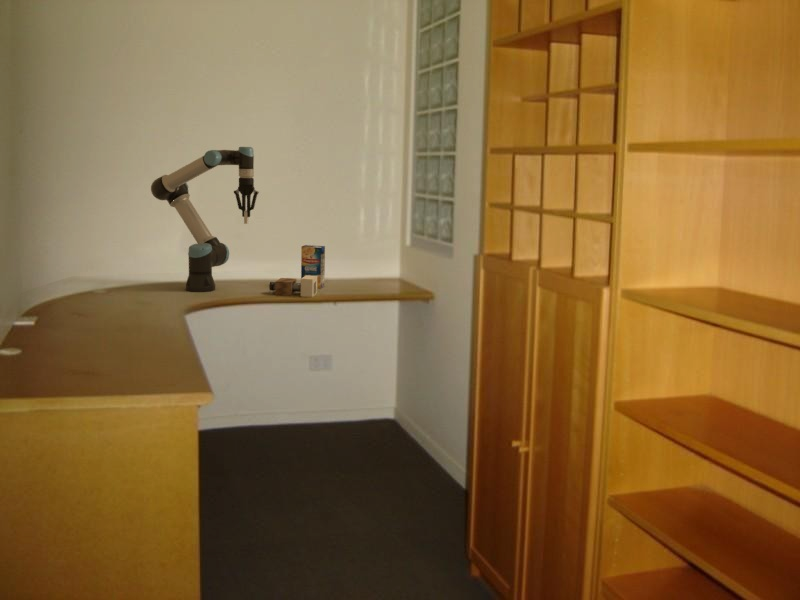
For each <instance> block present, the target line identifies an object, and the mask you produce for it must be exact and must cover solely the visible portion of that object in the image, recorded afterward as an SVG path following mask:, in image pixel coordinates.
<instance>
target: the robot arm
mask: <svg viewBox="0 0 800 600" xmlns="http://www.w3.org/2000/svg"><path fill="white" fill-rule="evenodd" d="M254 157H255V154H254V148H253V147H251V146H239V147H238V149H234V150H233V149H232V150H231V149H219V150H218V149H211V150H208V151H206V152H205V153H204V155H202V156H201V157H199V158H197V159H195V160H193V161H192V162H190V163H188V164H186V165H184V166H182V167H181V168H179V169H177V170H175V171H174V172H173V171H172V172H171V173H169V174H164V175H161V176H159V177H158V178H156V179H154V180H153V181H152V183H151V186H150V191H151V194H152V195H153V197H154V198H156V199H157V200H159V201H167V203H168V205H170V207H172V208H175V210H176V212H177V213H178V215H179V217H180V219H182V221H183V223H184V224H185V226H186V228H187V229H188V230H189V232H190V234H191V235H192V237H193V238H194V240H195V241H196V243H193V244H191V245H190V246H189V247H188V251H187V252H188V253H187V254H188V276H187V280H186V283H185V290H186V291H188V292H196V293H197V292H199V293H201V292H204V293H205V292H212V291H215V290H216V284H215V279H214V276H213V268H214V267H220V266H223V265H225V264H226V263H227V262H228V260H229V258H230V250H229V248H228V246H227V244H225V243H223V242H221V241H220V240H219V239H218V237H217V236H214V235H212V233H211V231H210V229H208V227H207V226H206V224H205V222H204V220H203V219H202V218H201V215H200V214H199V212H197V210H196V208H195V207H194V204H192V201H191V200H190V195H191V194H190V193H189V189H188V188H189V185H188V182H189V181H193V180H194V179H195V178H197V177H199V176H200V175H202V174H204V173H206V172H208V171H210V170H212V169H214V168H216V167H218V166H238V177H239V178H238V186H237V189H236V190H233V194H234V195H235V198H236V199H235V200H236V203H237V207H238V210H241V212H242V213H241V214H242V215H241V216H242V217H243V224H245V225H246V224H249V218H250V217H251V211H252V210H254V208H255V206H256V201H257V197H258V195H259V193H260V191H258V190H256V189H255V184H254V182H255V180H254V177H255V175H254V173H255V171H254V170H255V169H254V167H255V166H254V163H255V162H254V161H255V158H254ZM240 194H241V197H240ZM252 194H253V196H252ZM251 197H252V200H251ZM173 200H174V201H173Z"/></svg>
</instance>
